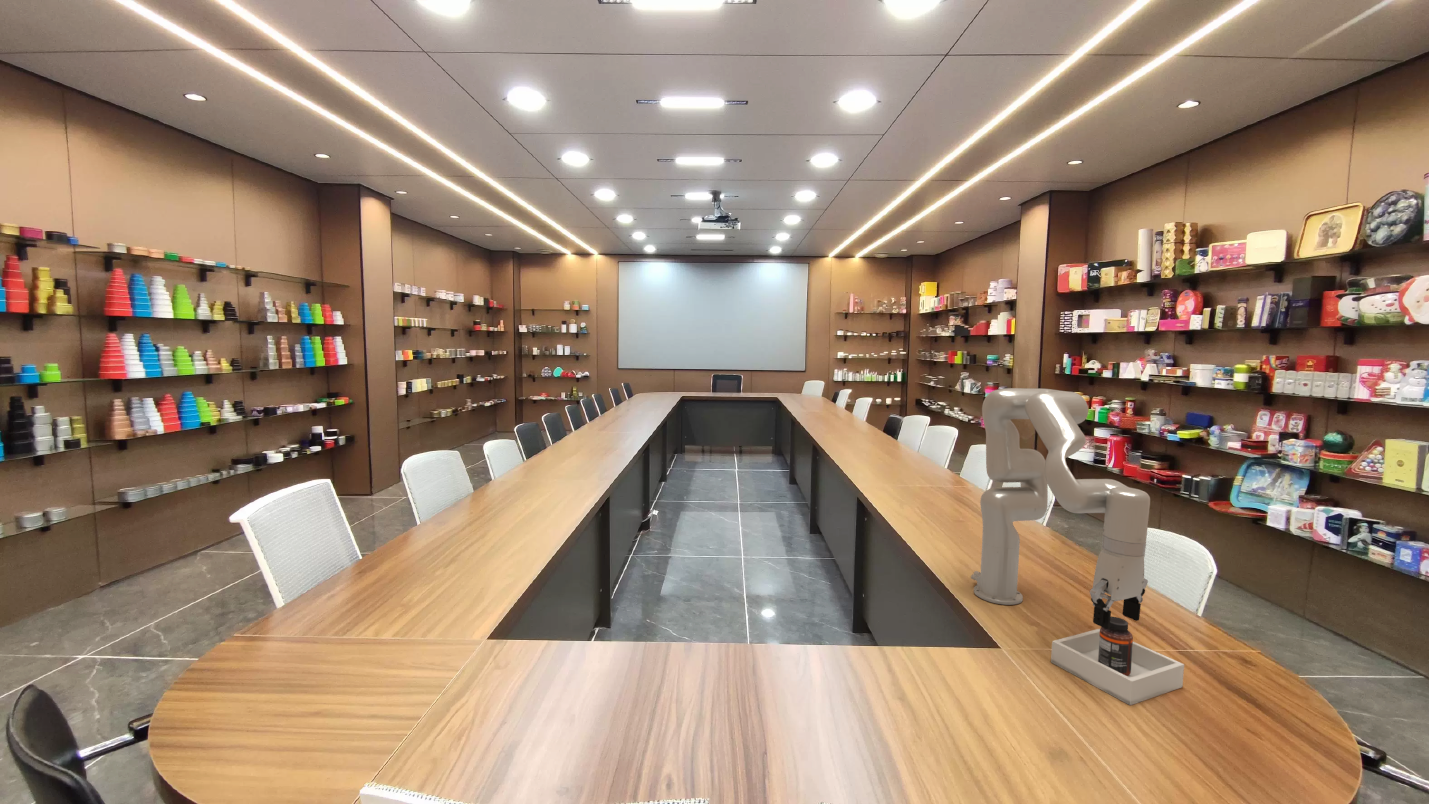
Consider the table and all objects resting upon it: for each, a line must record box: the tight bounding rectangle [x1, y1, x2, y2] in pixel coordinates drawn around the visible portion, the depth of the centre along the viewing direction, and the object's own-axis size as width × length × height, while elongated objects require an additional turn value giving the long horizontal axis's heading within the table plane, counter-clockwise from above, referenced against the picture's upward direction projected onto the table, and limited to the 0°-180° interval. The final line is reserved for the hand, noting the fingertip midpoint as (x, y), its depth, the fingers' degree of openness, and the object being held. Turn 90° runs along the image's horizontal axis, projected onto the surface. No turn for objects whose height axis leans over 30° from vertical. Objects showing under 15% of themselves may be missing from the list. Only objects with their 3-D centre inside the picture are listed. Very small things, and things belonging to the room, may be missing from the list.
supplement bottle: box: [1098, 616, 1134, 676], centre depth 124 cm, size 6×6×11 cm
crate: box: [1050, 628, 1185, 706], centre depth 124 cm, size 17×17×5 cm
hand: (1116, 621), depth 124 cm, fingers open, 9 cm apart
